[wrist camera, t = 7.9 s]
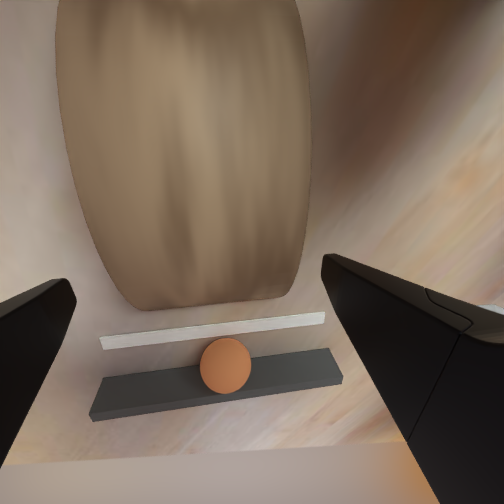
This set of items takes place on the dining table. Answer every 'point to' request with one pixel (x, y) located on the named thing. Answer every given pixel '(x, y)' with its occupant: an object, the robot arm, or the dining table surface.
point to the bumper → (198, 393)
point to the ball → (225, 365)
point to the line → (210, 330)
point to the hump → (188, 143)
